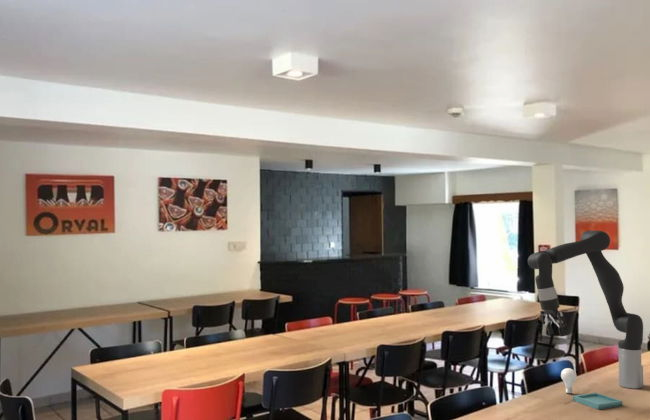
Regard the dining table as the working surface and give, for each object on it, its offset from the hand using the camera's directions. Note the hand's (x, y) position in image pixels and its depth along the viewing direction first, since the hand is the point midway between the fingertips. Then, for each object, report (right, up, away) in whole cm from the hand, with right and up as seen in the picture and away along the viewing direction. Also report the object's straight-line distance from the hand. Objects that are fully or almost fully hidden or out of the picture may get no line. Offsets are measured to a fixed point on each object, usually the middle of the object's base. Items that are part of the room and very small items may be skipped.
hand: (556, 335), depth 243 cm
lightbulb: (+7, -27, +3) cm, 28 cm away
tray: (+12, -26, -11) cm, 31 cm away
